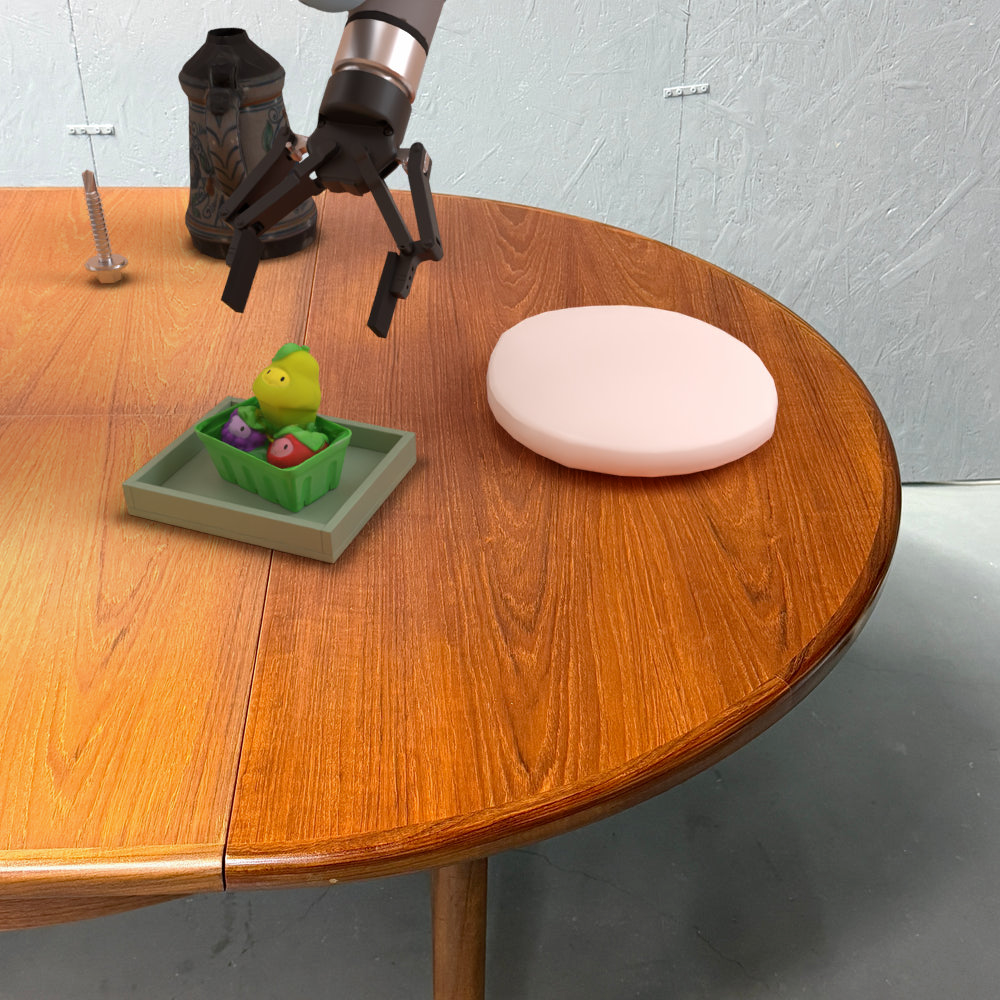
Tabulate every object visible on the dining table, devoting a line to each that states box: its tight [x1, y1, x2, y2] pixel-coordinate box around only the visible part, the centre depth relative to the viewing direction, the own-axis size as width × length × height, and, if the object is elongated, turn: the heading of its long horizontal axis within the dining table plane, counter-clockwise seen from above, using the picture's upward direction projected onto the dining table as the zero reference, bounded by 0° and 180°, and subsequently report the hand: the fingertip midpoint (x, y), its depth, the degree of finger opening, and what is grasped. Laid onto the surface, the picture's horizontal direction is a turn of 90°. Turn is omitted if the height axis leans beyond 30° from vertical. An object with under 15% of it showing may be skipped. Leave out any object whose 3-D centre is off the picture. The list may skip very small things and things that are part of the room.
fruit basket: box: [194, 342, 352, 513], centre depth 87 cm, size 11×9×11 cm
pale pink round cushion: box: [485, 304, 779, 478], centre depth 100 cm, size 28×6×27 cm
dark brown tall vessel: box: [177, 27, 319, 261], centre depth 130 cm, size 16×19×25 cm
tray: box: [121, 395, 417, 565], centre depth 90 cm, size 19×16×3 cm
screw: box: [81, 169, 129, 284], centre depth 123 cm, size 13×5×5 cm
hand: (302, 319), depth 90 cm, fingers open, 13 cm apart
